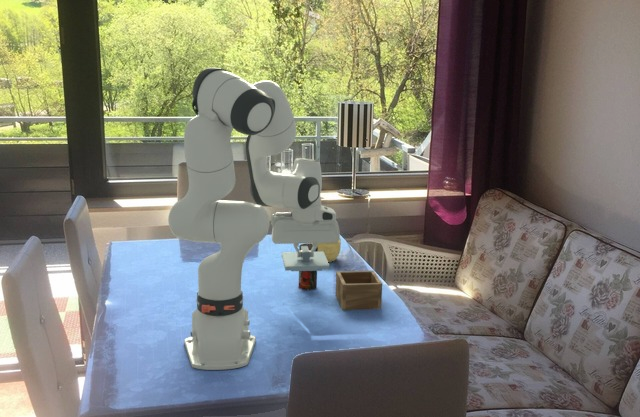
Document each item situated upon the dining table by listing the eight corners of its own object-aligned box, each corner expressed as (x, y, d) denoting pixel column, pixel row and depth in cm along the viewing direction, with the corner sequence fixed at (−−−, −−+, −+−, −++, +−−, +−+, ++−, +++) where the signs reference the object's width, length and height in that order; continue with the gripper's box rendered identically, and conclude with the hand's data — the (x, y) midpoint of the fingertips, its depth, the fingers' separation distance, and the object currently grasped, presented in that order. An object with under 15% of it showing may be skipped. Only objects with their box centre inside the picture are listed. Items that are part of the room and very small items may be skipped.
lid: (329, 272, 187) (330, 255, 186) (285, 273, 186) (285, 256, 184) (323, 258, 200) (323, 242, 199) (281, 258, 198) (281, 242, 197)
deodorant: (320, 289, 211) (321, 246, 207) (307, 294, 206) (308, 250, 203) (307, 285, 215) (308, 242, 211) (294, 289, 210) (295, 245, 207)
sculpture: (313, 266, 234) (313, 237, 231) (305, 256, 245) (306, 229, 242) (343, 264, 236) (344, 236, 234) (334, 254, 248) (335, 227, 245)
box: (380, 311, 194) (382, 283, 192) (342, 313, 192) (343, 284, 190) (372, 297, 206) (373, 270, 204) (335, 298, 204) (336, 271, 202)
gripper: (271, 215, 184) (271, 260, 187) (341, 214, 187) (340, 259, 190) (270, 209, 190) (269, 253, 193) (338, 209, 193) (336, 252, 196)
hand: (305, 256), depth 192 cm, fingers closed on lid
